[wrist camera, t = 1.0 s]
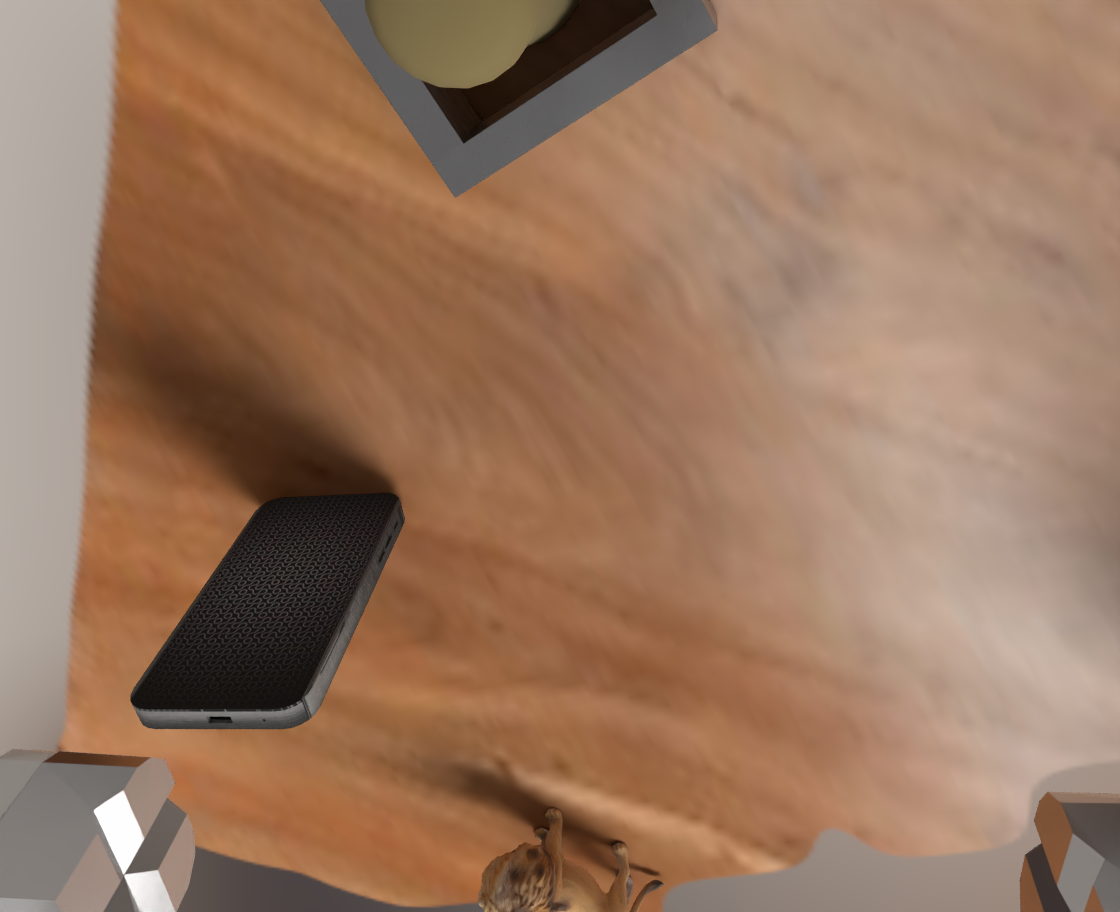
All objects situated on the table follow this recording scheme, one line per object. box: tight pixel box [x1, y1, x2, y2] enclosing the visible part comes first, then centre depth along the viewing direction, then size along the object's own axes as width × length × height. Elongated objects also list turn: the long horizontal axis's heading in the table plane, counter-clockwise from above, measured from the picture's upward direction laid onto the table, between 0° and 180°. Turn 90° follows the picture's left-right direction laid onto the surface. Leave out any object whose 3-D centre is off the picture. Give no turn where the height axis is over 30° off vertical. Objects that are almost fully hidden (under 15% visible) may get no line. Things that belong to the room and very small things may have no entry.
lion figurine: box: [478, 808, 663, 912], centre depth 60 cm, size 12×4×7 cm, turn 65°
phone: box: [130, 493, 405, 729], centre depth 45 cm, size 8×1×15 cm, turn 98°
